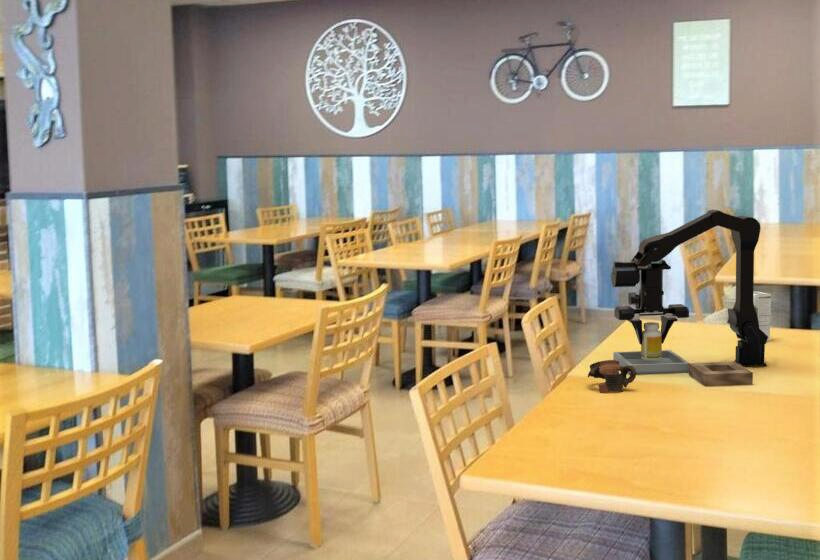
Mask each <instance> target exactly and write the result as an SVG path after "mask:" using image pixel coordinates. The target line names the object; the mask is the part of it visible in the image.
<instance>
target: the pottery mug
mask: <svg viewBox="0 0 820 560" xmlns="http://www.w3.org/2000/svg"><path fill="white" fill-rule="evenodd" d="M629 371H630V372H631V375H629V376H628V377H627V375H628V372H629ZM587 374H588V375H587V378H590V377H591V378H594V379H602V380H605V382H602V383H599V384H598V388H599V392H600V394H602V393H604V394H605V393H608V392H610V393H611V392H614V393H616V392H618V393H619V392H620V393H623V391H624V388H627V387H628V386H629V384H631V383H633V382H634V380H636V377H637V375H636V374H637V373H636V371H635V368H634V367H633V366H623V367H621V366H619V361H616V360H613V359H606V360H601V361H596V362H594V363H591V364H590V365H589V372H588V373H587Z"/></svg>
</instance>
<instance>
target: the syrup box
mask: <svg viewBox="0 0 820 560" xmlns="http://www.w3.org/2000/svg"><path fill="white" fill-rule="evenodd" d="M753 303H754V307H755V310H756V313H757V316H758V322H759V329H760V330H762V331H763V332H764V333H765V334H766V335H767V336H768V339H767V342H766V343H769V342H770V340H771V339H770V336H771V311H772V294H771V293H767V292H761V291H754V292H753Z"/></svg>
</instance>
